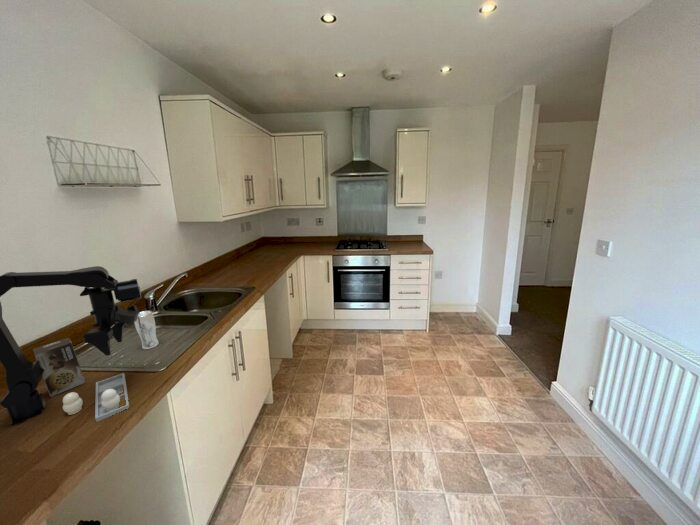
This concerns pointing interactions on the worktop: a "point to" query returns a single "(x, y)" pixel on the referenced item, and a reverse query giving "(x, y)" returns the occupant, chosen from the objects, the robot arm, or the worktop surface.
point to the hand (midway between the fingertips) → (114, 348)
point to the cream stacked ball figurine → (72, 403)
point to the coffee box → (59, 366)
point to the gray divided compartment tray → (110, 383)
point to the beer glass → (146, 329)
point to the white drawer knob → (110, 400)
